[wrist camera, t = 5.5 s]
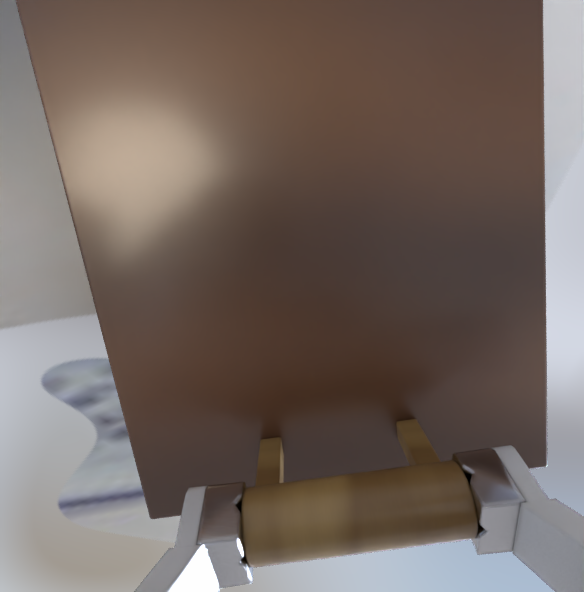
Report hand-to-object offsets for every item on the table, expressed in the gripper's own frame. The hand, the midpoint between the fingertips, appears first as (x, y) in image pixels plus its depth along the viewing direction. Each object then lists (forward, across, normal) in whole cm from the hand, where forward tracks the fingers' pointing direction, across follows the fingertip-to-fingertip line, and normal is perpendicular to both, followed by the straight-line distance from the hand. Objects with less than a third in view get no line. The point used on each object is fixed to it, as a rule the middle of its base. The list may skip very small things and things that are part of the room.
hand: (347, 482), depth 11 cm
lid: (+5, 0, -5) cm, 7 cm away
